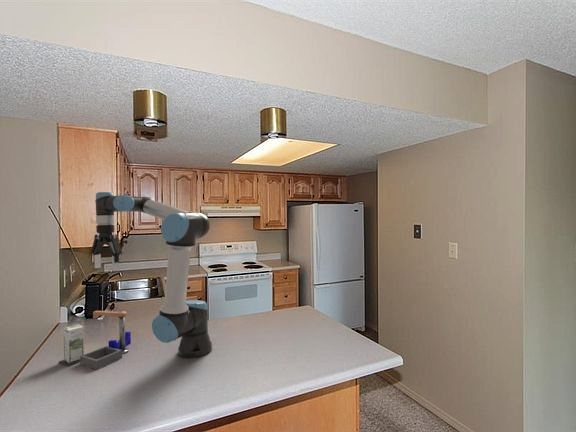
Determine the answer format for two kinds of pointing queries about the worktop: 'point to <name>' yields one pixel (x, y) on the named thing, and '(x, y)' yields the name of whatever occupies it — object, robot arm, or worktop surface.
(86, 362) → the cradle
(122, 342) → the post
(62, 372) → the worktop surface
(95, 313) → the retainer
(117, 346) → the blue stepped block
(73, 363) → the pad
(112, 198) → the robot arm
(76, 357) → the syrup box
